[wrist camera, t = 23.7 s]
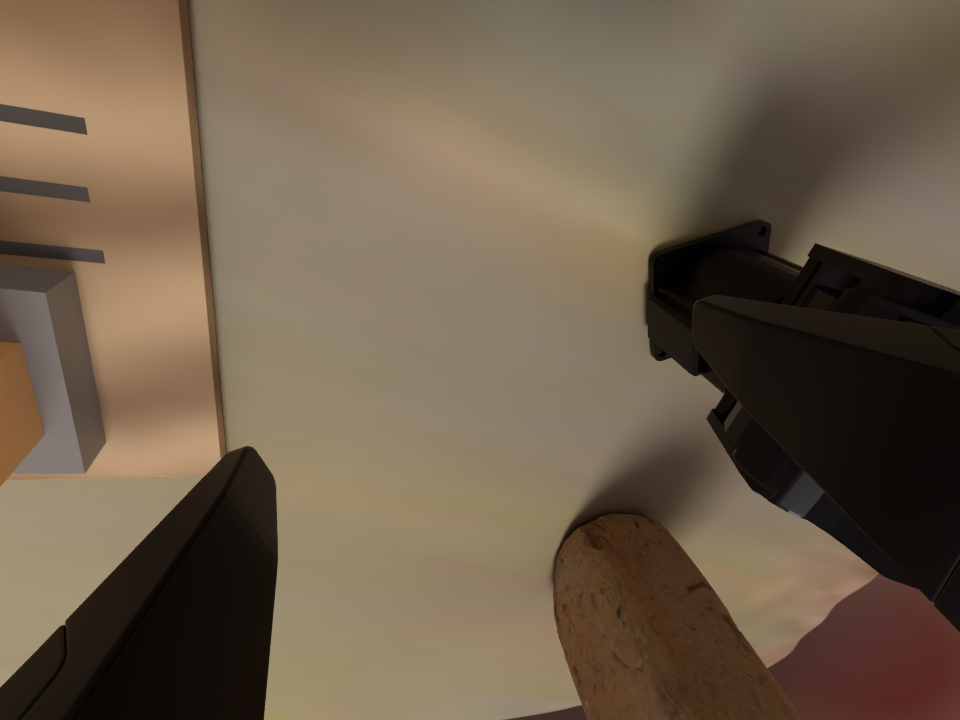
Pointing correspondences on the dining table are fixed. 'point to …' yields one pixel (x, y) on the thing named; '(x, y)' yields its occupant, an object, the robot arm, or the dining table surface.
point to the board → (117, 215)
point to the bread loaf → (653, 631)
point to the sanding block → (45, 376)
